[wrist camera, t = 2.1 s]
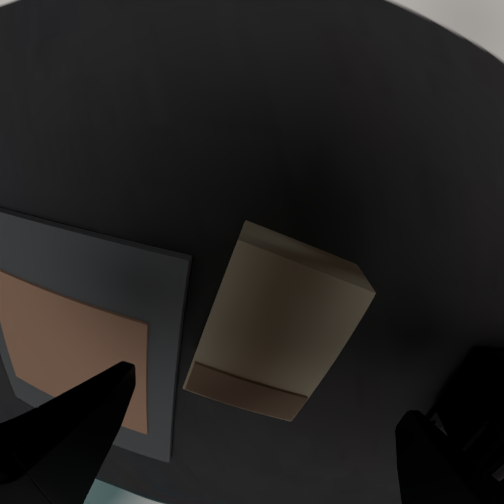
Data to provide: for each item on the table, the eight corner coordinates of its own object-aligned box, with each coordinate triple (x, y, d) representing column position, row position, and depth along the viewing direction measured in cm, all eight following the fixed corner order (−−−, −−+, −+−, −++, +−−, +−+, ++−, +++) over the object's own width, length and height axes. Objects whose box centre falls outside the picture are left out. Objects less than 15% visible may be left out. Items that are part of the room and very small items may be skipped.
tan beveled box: (355, 262, 13) (377, 295, 10) (289, 378, 15) (291, 423, 12) (246, 218, 12) (237, 241, 9) (197, 348, 15) (181, 390, 12)
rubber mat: (192, 255, 13) (187, 262, 12) (171, 456, 18) (168, 465, 17) (-19, 202, 13) (-28, 205, 12) (19, 392, 18) (14, 397, 17)
